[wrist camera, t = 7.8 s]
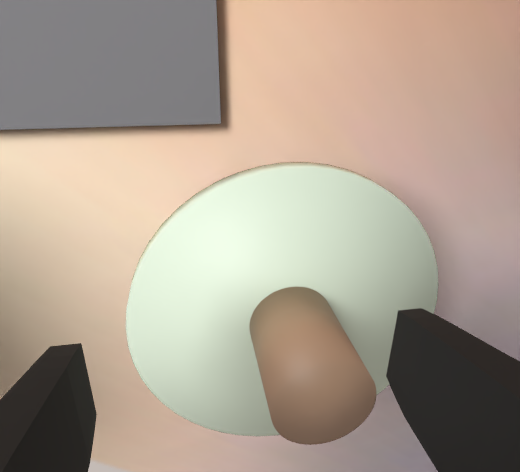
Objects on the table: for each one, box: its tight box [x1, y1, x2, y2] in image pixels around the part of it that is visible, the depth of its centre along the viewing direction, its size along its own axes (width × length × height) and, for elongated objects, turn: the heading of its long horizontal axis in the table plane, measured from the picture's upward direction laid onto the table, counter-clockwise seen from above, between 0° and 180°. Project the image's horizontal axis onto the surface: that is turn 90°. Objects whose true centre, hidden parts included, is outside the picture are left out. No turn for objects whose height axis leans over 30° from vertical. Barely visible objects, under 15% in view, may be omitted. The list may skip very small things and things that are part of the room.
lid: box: [126, 162, 438, 445], centre depth 14 cm, size 12×12×5 cm
